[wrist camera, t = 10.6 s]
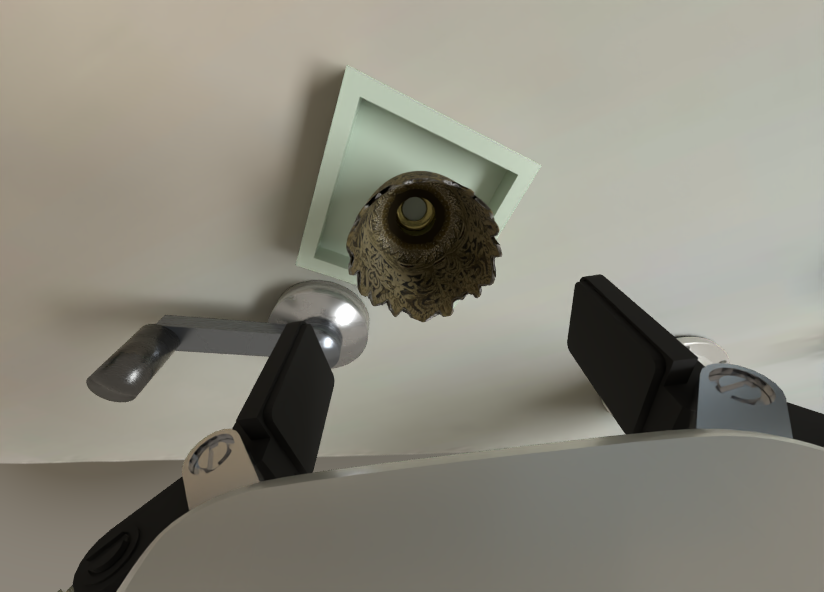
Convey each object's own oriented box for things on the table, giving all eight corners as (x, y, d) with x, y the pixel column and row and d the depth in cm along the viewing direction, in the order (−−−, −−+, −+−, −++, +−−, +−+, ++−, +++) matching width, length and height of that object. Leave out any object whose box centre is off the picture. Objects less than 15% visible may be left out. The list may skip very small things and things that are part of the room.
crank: (343, 320, 24) (331, 378, 19) (342, 357, 26) (331, 417, 21) (142, 304, 22) (73, 363, 17) (159, 345, 24) (101, 408, 19)
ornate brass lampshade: (400, 273, 24) (403, 343, 17) (337, 194, 20) (311, 243, 14) (485, 221, 22) (526, 277, 15) (432, 124, 18) (456, 141, 12)
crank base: (285, 267, 24) (277, 280, 22) (382, 298, 26) (381, 312, 24) (267, 340, 28) (260, 355, 26) (353, 361, 30) (351, 377, 28)
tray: (526, 158, 20) (541, 165, 18) (445, 297, 26) (449, 315, 24) (352, 68, 17) (346, 64, 15) (303, 249, 23) (295, 265, 21)
